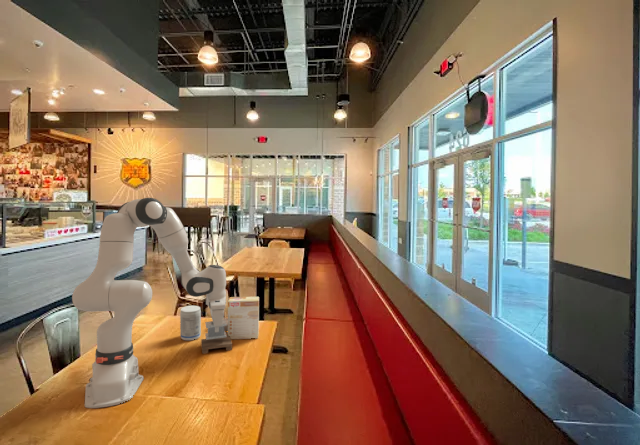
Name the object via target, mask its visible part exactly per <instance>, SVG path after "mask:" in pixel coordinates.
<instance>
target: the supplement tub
mask: <svg viewBox="0 0 640 445" xmlns="http://www.w3.org/2000/svg"><path fill="white" fill-rule="evenodd" d="M179 312H180V314H179V320H180V321H179V322H180V332H179V333H180V335H179V336H180V339H182V340H183V341H194V339H195V340H197V339H199V338H200V337H201V334H202V328H201V327H202V322H201V321H202V319H201V318H202V311H201V306H199V305H186V306H183V307H181V308H180V311H179Z"/></svg>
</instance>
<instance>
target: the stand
mask: <svg viewBox="0 0 640 445" xmlns="http://www.w3.org/2000/svg"><path fill="white" fill-rule="evenodd" d="M200 342H201V351H202V352H201V353H202V355H203V354H204V355H205V354H209V350H213V349H221V348H225V350H226V351H232V350H233V342H232V339H231V338H230V336H228V335H227V337H225V338H217V339H209V340H206V338H202V339H201V340H200Z"/></svg>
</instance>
